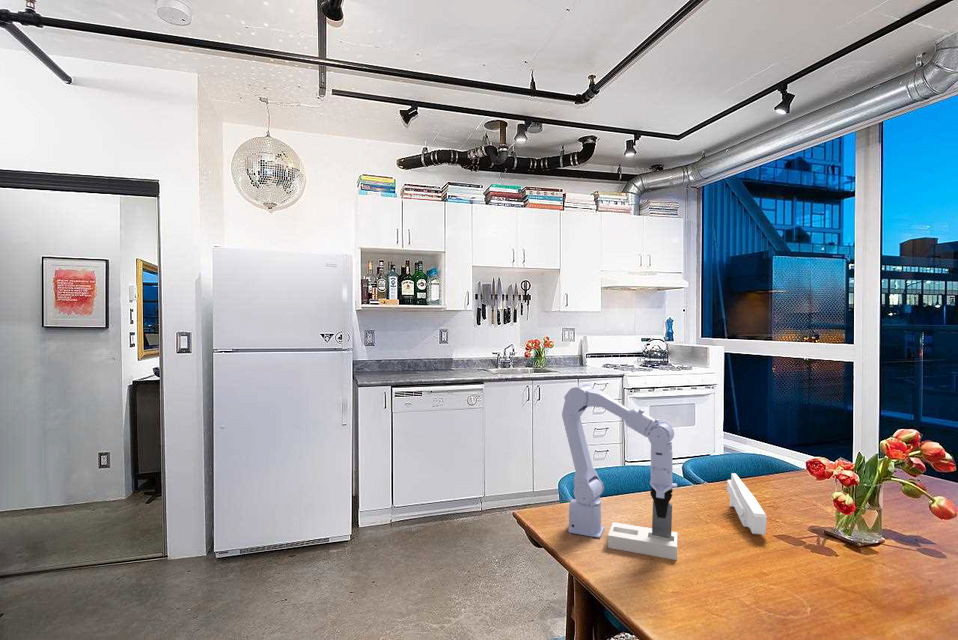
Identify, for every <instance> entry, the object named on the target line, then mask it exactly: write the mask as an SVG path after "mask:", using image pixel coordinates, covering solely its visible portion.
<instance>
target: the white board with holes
mask: <svg viewBox="0 0 958 640" xmlns="http://www.w3.org/2000/svg"><path fill="white" fill-rule="evenodd" d="M678 537H679V536H678V532H677V531H671V539H670V538H665V537H660V536H655V535H652V527H646V526H640V525H639V526H638V525H633V524H627V523H621V522H616V521H615V522H613V521H612V524H611V526H610V529H609V531H608V534H607V548H608V549H613V550H619V551H624V552H629V553H635V554H641V555H647V556H652V557H657V558H661V559H669V560H675V561H678V548H679V547H678V546H679V545H678V541H679V539H678Z"/></svg>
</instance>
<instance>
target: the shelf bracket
mask: <svg viewBox="0 0 958 640" xmlns="http://www.w3.org/2000/svg"><path fill="white" fill-rule="evenodd" d="M726 482H727V483H726V491H727V493H728V495H729V505H728V506H729V507H731V508H734V509H735V511H736V513H737V516H738V519H739V521H740V522H741V524H742V526H743V527H744V528H748V529H750V532H751V533H752V534H753V535H763V536H765V535H766V532H767V521H768V517H767V514H766V512H765V511H764V510H763V508H762V506H761V504H760V503H759V502H758V500H757V499H756V497H755V496H754V494H753V493H752V492H751V491H750V489H748V487H747V486H746V484H745V483H744V482H743V481H742V480H741V478H740V476H738V474H737V473H735V472H734V473H731V476H730V479H727V481H726Z"/></svg>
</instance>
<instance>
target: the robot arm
mask: <svg viewBox="0 0 958 640" xmlns="http://www.w3.org/2000/svg"><path fill="white" fill-rule="evenodd" d="M588 407H589V408H591V407H593V408H594V407H600V408H602V409H604V410H606V411H608V412H609V413H612V414H613V415H615V416H617V417H619V418H621V419H623V420H624V423H625V426H627V427H628V428H629V429H632V430H633V431H635V432H637V433H638V434H640V435H642V436H643V437H645V438H647V439H648V441H649V442H650V481H649V485H650V486H651V490H650V496H651V498H652V502H653V501H654V504H655V508H656V513H657V517H659V518H666V514H667V508H668V504H669V503H670V501H671V499H672V497H673V494H672V493H673V491H674V490H673V489H677V488H678V483H676V482H675V483H673V442H672V440H673V439H674V437H675V431H674V429H673V427H672V425H670V424H669V423H668V422H666V421H660V419H658V418H653V417H651V416H650V415H648V414H647V413H645V410H644V409H642V408H639V409H637V408H633V409H632V408H631V409H630V408H628V407H626V406H625V405H623V404H622V403H620V402H618V400H615V399H614V398H612V397H610V396H609V395H607V394H606V393H605V392H603V391H602V390H600V389H599V388H596V387H594V386H592V385H590V384H583V385H579V386H575V387H571V388H570V389H569V390H568V391H567V393H566V394H565V395H564V403H563V408H562V410H561V411H562V412H561V417H562V421H563V425H564V429H565V430H564V431H565V433H566V438H567V441H568V442H567V443H568V445H569V449H570V453H571V454H570V455H571V457H572V461H573V466H574V469H575V473H574V477H573V485H574V488H573V496H574V499H570V501H569V508H568V533H570V534H574V535H575V534H576V535H582V536H585V537H592V538H598V539H600V538H601V536H602V535H603V534H602V533H603V532H604V530H605V526H603V525H602V500H601V499H602V498H601V495H602V494H603V493H604V490H605V487H604V483H603V481H602V479H600V477H599V474H598V471H597V470H596V469H595V468H594V467H593V464H592V459H591V455H590V451H589V447H588V443H587V440H586V436H585V431H584V428H583V423H582V418H581V416H582V415H583V413H584V412H585V411H586V409H588Z"/></svg>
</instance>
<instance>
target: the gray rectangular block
mask: <svg viewBox="0 0 958 640" xmlns="http://www.w3.org/2000/svg"><path fill="white" fill-rule="evenodd" d="M651 520H652V521H651V522H652V523H651V526H652V527H651V528H652V535H655V536H660V537H665V538H670V539H671V531H672V530H673V529H672V525H673V523H672V522H673V503H671V502H669V504H668V508H667V514H666V518H659V517H657V513H656V508H655V504H654V501H653V500H652V519H651ZM672 532H673V531H672Z"/></svg>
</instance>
